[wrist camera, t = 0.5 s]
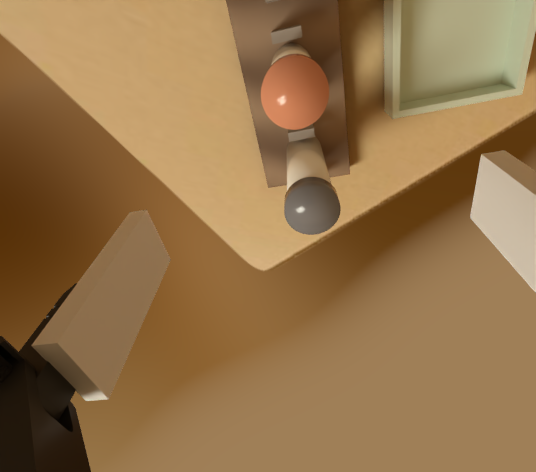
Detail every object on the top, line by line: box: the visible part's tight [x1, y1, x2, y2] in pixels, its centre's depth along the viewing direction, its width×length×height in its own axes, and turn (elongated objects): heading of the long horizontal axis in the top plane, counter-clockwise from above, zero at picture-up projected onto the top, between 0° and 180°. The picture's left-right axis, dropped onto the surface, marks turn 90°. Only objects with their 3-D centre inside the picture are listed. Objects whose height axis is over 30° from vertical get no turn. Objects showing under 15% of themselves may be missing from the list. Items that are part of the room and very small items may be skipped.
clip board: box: [226, 0, 350, 188], centre depth 29 cm, size 23×9×4 cm, turn 12°
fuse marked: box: [261, 43, 329, 130], centre depth 24 cm, size 4×4×13 cm
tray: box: [384, 0, 536, 119], centre depth 27 cm, size 14×11×3 cm
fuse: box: [285, 137, 340, 235], centre depth 29 cm, size 4×4×13 cm
